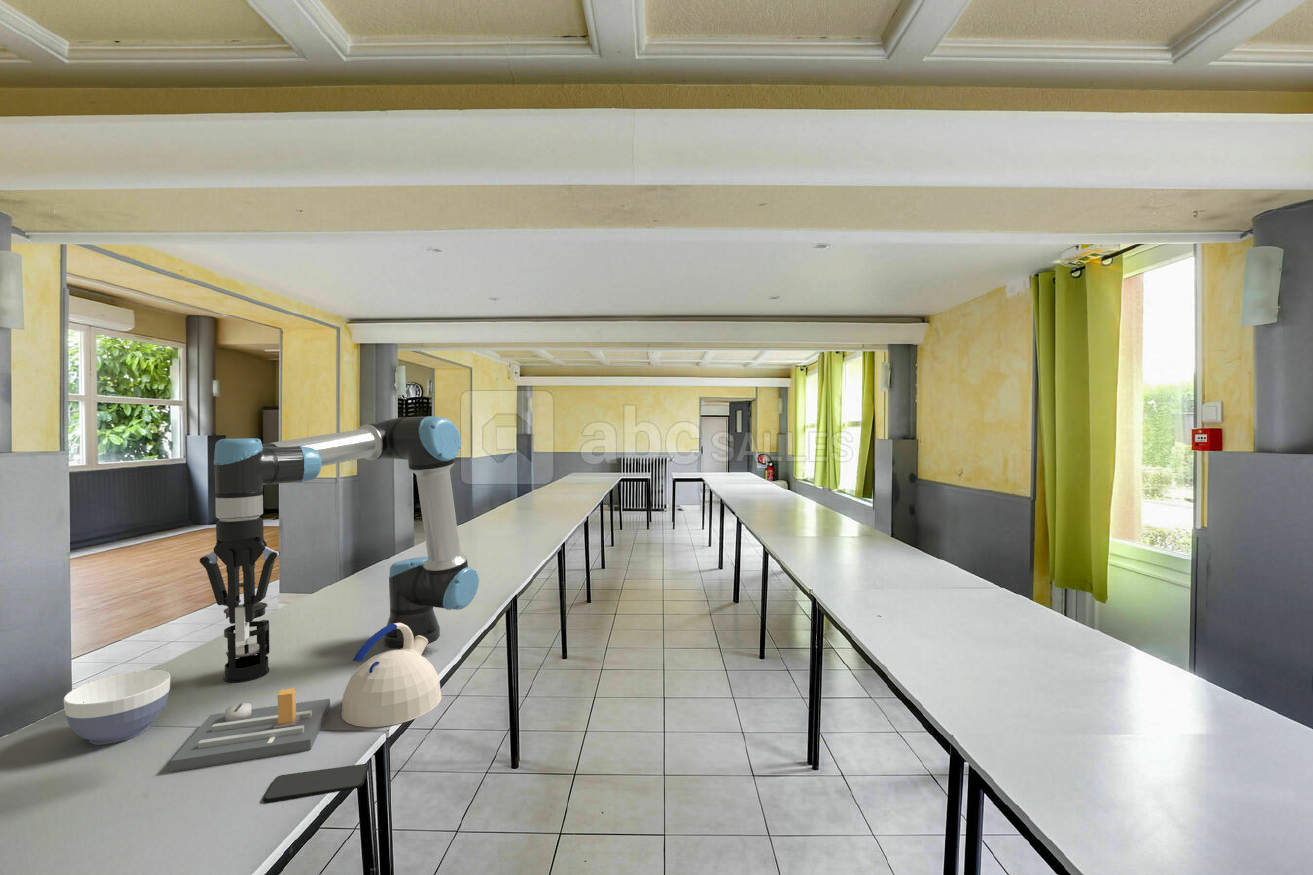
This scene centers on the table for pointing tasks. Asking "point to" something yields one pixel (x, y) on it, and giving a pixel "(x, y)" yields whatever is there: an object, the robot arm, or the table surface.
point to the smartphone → (316, 782)
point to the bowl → (117, 705)
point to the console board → (250, 735)
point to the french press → (248, 650)
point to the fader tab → (287, 709)
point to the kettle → (391, 683)
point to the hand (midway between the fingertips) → (242, 638)
